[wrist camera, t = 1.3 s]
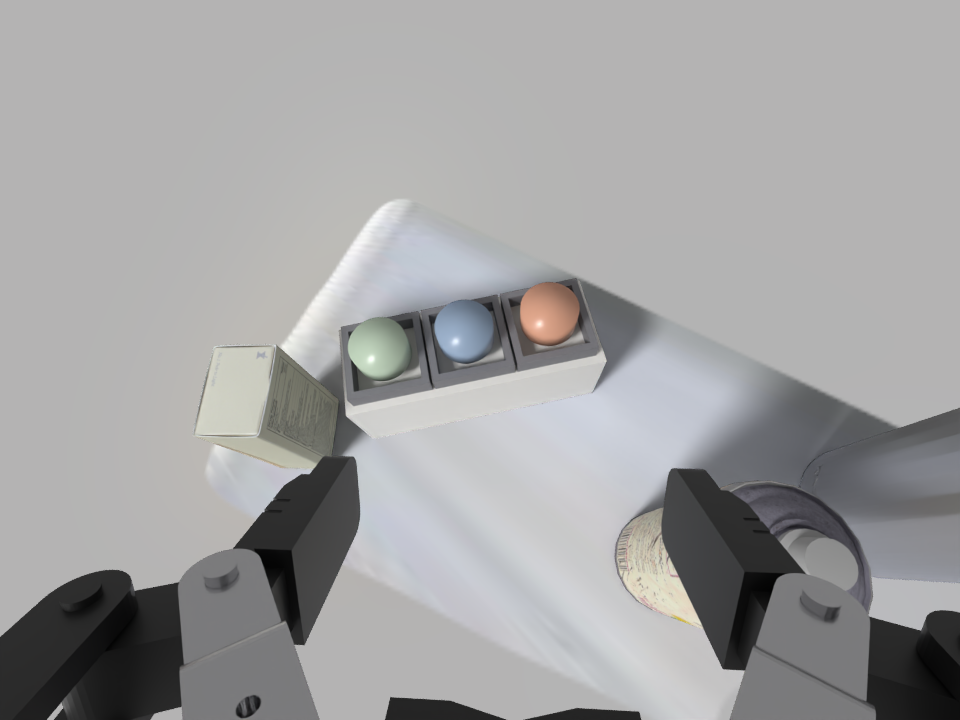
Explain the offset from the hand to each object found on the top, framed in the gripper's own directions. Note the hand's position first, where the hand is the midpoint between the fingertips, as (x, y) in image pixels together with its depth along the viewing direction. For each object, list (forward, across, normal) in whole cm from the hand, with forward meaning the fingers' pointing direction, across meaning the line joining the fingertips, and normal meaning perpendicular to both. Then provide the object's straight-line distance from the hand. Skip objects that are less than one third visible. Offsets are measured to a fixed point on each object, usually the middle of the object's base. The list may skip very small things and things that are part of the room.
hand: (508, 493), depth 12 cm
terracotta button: (+23, -3, +1) cm, 23 cm away
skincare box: (+25, +16, +12) cm, 32 cm away
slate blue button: (+22, +3, +2) cm, 22 cm away
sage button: (+21, +9, +3) cm, 23 cm away
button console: (+28, +2, +7) cm, 29 cm away
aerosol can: (+19, -12, +18) cm, 28 cm away
